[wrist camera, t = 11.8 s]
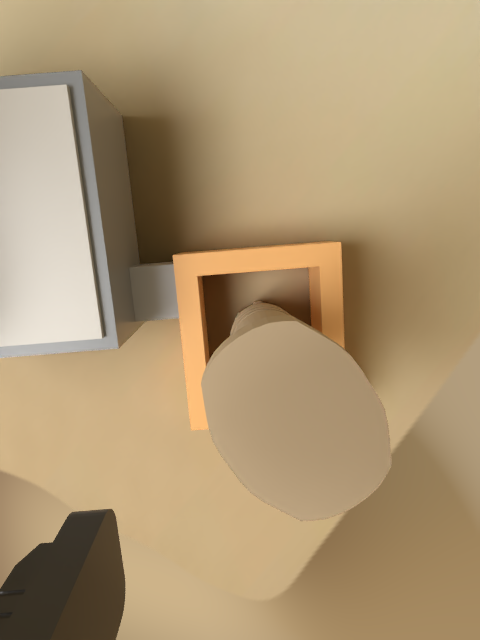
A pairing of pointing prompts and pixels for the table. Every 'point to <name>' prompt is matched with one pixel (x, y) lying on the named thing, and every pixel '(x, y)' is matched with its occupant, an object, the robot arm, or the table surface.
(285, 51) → the table surface
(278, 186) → the table surface
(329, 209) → the table surface
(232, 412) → the handle
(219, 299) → the table surface
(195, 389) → the chair with orange tray
